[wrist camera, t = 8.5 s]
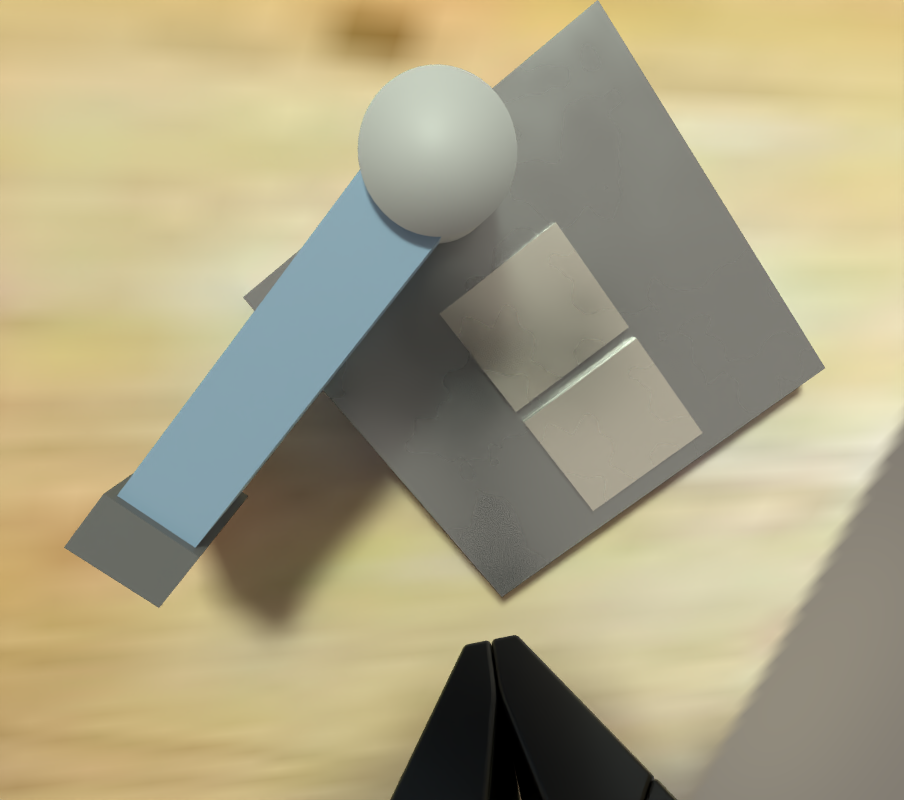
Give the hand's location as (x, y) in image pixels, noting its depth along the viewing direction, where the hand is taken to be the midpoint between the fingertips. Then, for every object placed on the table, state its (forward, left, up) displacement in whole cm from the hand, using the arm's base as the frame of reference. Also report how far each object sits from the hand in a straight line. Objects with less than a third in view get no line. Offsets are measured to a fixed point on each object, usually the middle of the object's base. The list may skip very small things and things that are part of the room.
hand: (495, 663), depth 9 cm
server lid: (+2, -4, -10) cm, 11 cm away
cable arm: (+6, +1, -7) cm, 9 cm away
